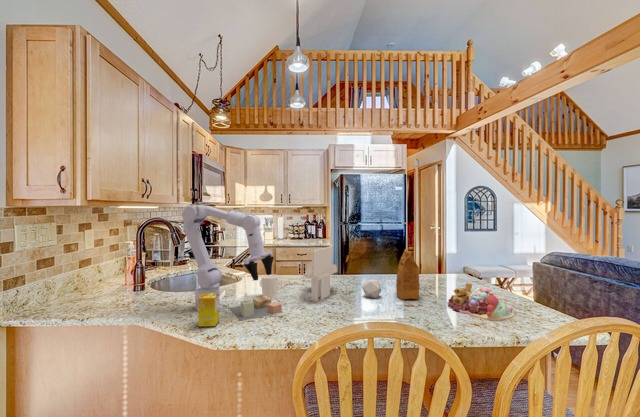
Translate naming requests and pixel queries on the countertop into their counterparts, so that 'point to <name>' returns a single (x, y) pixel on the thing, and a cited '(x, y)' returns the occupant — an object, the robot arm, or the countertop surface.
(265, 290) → the white cup
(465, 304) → the dessert platter
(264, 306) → the base block
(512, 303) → the countertop surface
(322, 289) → the upright slab stand
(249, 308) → the sage block
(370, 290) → the die
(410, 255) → the coffee package
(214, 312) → the supplement box
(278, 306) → the block
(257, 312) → the mat
